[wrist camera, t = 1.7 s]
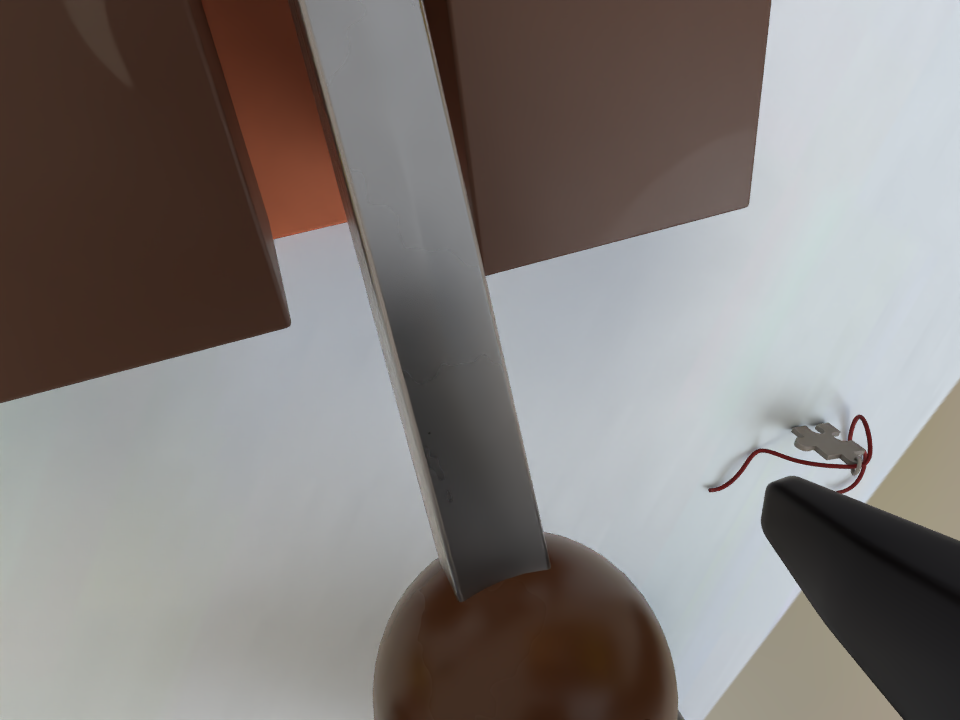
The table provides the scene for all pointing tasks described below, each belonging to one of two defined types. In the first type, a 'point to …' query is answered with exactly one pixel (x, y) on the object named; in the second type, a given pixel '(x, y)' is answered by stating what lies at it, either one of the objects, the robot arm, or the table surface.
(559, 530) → the table surface
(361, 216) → the lever
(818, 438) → the pendant
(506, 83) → the brown block
